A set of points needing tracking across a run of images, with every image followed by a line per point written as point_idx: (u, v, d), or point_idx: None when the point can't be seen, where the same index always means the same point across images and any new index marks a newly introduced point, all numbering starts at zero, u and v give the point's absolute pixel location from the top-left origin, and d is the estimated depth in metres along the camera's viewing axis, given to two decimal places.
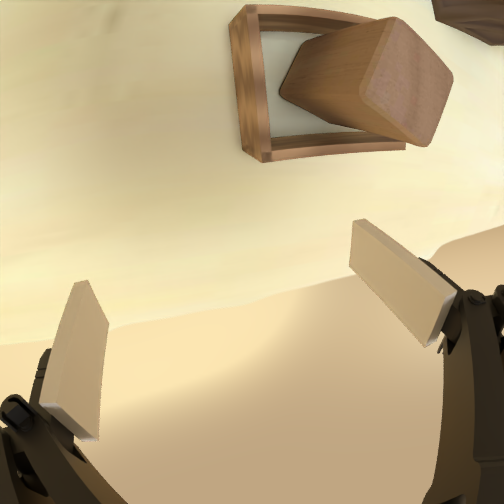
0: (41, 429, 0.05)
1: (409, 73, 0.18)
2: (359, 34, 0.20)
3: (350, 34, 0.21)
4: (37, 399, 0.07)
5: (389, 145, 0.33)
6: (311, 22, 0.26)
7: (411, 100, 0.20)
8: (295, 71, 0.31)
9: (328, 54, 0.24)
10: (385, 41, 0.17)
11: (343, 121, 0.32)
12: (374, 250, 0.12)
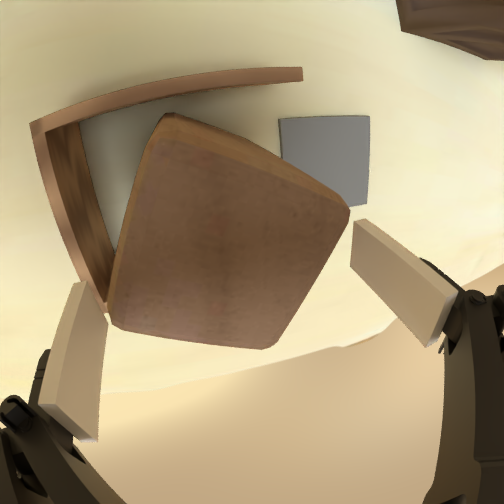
0: (40, 430, 0.05)
1: (196, 267, 0.12)
2: None
3: None
4: (36, 400, 0.07)
5: None
6: (141, 101, 0.19)
7: (211, 310, 0.13)
8: None
9: None
10: (129, 219, 0.11)
11: None
12: (375, 250, 0.12)
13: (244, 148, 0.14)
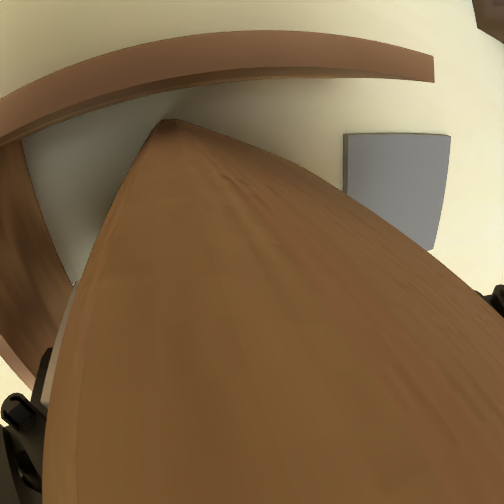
0: (43, 428, 0.05)
1: None
2: None
3: None
4: (38, 398, 0.07)
5: None
6: (107, 99, 0.08)
7: None
8: None
9: None
10: None
11: None
12: None
13: (470, 329, 0.03)
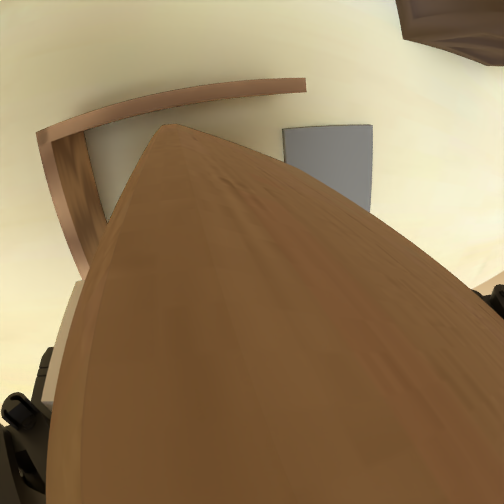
0: (43, 427, 0.05)
1: None
2: None
3: None
4: (39, 397, 0.07)
5: None
6: (147, 112, 0.20)
7: None
8: None
9: None
10: None
11: None
12: None
13: (464, 325, 0.03)
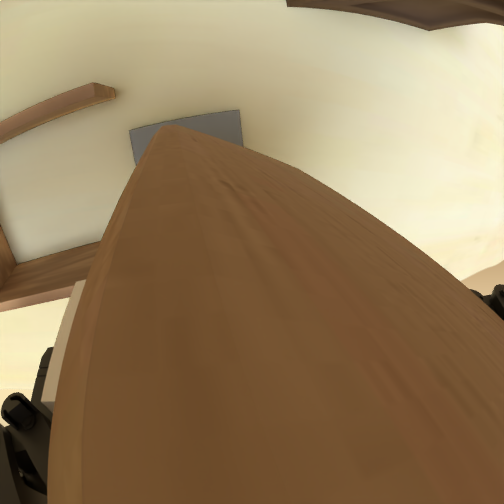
0: (43, 427, 0.05)
1: None
2: None
3: None
4: (39, 397, 0.07)
5: None
6: None
7: None
8: None
9: None
10: None
11: None
12: None
13: (464, 328, 0.03)
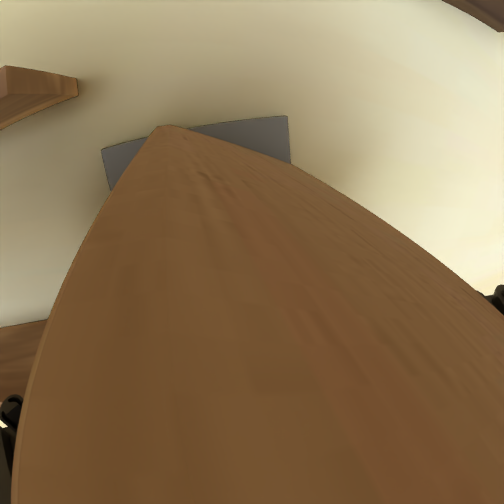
0: None
1: None
2: None
3: None
4: None
5: None
6: None
7: None
8: None
9: None
10: None
11: None
12: None
13: (433, 303, 0.04)
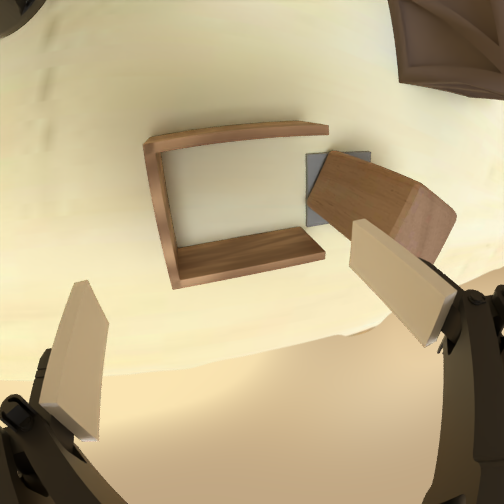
0: (41, 429, 0.05)
1: (419, 235, 0.27)
2: (384, 188, 0.29)
3: (376, 181, 0.30)
4: (37, 399, 0.07)
5: (304, 259, 0.39)
6: None
7: (416, 255, 0.29)
8: (322, 188, 0.41)
9: (355, 193, 0.34)
10: (406, 214, 0.26)
11: None
12: (374, 250, 0.12)
13: None
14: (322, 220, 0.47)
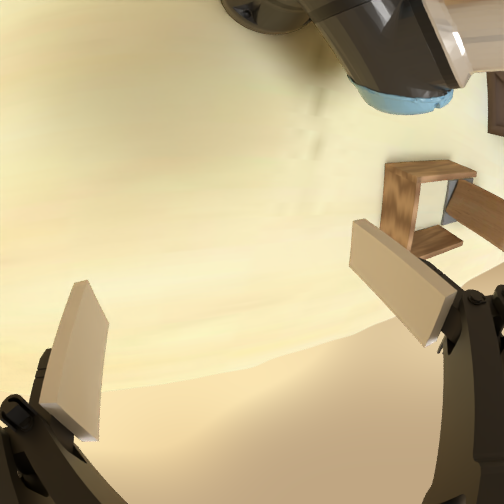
0: (41, 429, 0.05)
1: None
2: (501, 208, 0.44)
3: (496, 204, 0.45)
4: (37, 399, 0.07)
5: (455, 245, 0.54)
6: None
7: None
8: (458, 202, 0.55)
9: (483, 209, 0.48)
10: None
11: (474, 231, 0.56)
12: (374, 250, 0.12)
13: None
14: (449, 221, 0.62)
